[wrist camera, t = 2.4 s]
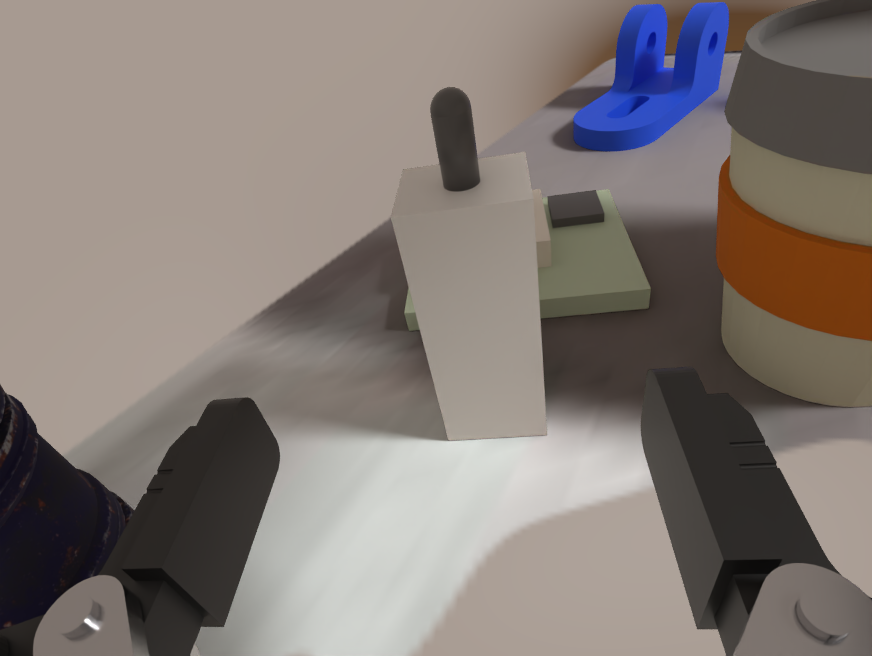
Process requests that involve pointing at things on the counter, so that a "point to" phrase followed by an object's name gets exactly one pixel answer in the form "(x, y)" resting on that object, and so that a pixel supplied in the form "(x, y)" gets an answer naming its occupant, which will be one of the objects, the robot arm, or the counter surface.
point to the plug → (474, 279)
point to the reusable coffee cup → (801, 204)
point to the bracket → (655, 78)
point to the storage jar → (47, 519)
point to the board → (580, 258)
